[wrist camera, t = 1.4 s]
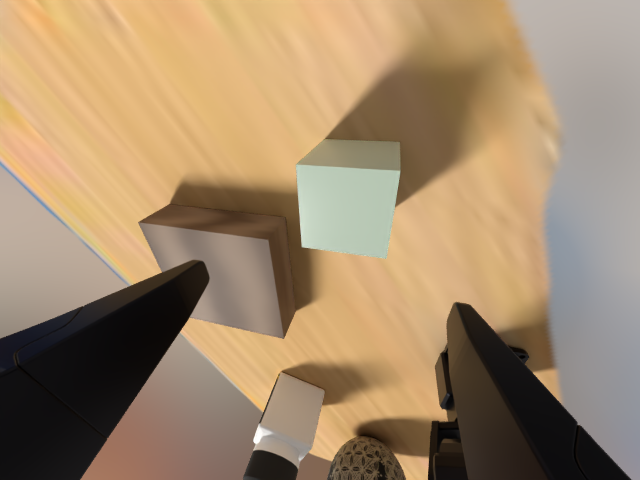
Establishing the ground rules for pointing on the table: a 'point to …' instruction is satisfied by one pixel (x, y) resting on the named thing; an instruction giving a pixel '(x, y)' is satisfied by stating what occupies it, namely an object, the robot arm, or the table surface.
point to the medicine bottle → (285, 430)
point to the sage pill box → (348, 196)
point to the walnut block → (230, 264)
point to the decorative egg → (365, 461)
